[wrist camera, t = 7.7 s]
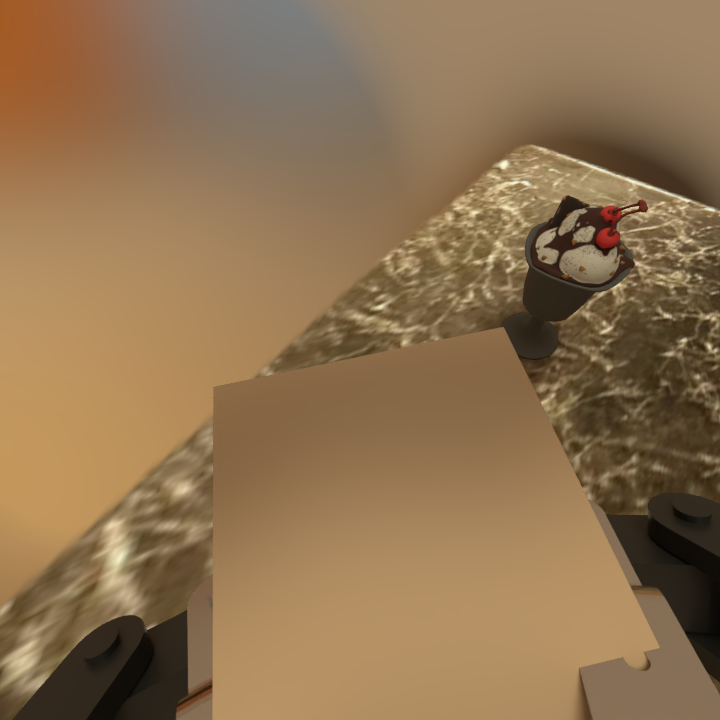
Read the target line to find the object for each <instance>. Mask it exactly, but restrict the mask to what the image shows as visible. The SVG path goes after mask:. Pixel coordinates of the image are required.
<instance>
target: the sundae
mask: <svg viewBox="0 0 720 720" xmlns="http://www.w3.org/2000/svg"><path fill="white" fill-rule="evenodd" d="M634 206H639V209H638V210H634V211H630V212H627V213H625V214H623V215H622V212H621V210H624V209H626V208H630V207H634ZM647 210H648V207H647V204H646V202H645V201H643V200H639V202H638V203H637V204H633V205H629V206H626V207H623V208H617V207H614V206H607V207H605V208H604V207H603V206H598V207H595V206H592V207H590V205H589V204H586V203H584V202H582V201H580V200H579V199H576V198H573V197H571V196H568V195H567V196H565V197H564V198H563V200H562V202H561V203H560V205H559V207H558V209H557V211H556V213H555V215H554V217H553V218H551V219H549V221H548V222H544V223H541V224H539V225H537V226H535V227H534V228H533V229H532V230H531V231H530V233H529V235H528V237H527V239H526V245H525V256H526V260H527V263H528V265H529V269H528V273H527V276H526V280H525V284H524V292H523V304H524V306H525V308H526V309H527V310H528V312H529V313H518V314H514V315H512V316H510V317H508V318H507V319H506V320H505V321H504V322H503V324H502V326H501V327H504V329H505V331H506V333H507V335H508V337H509V339H510V341H511V343H512V345H513V347H514V349H515V351H516V353H517V355H518V356H521V357H524V358H529V359H540V358H544V357H547V356H549V355H550V354H552V353H553V352H554V351H555V349H556V347H557V345H558V335H557V332H556V330H555V328H554V327H553V325H552V324H551V323H550V322H548V321H552V322H557V321H561V320H565V319H567V318H568V317H569V316H571V315H572V314H573V313H574V312H576V311H577V310H578V309H579V308H580V307H581V306H583V305H584V303H585V302H586V301H587V300H588V299H589V298H590V297H591V296H592V295H593V294H594V293H595V292H601V291H606V290H608V289H610V288H612V287H614V286H616V285H617V284H618V283H619V282H621V281H622V280H623V279H624V278H625V277H626V276H627V275H628V274H629V272H630V270H631V269H632V268H633V267H634V265H635V264H634V261H633V257H632V254H631V253H630V251H629V249H628V248H627V247H626V246H625V245H624V244H623V243H622V241H621V240H620V227H619V223H618V222H619V221H620V220H621V219H622V218H623V217H624V216H626V215H628V214H632V213H635V212H646V211H647ZM530 313H531V314H530Z"/></svg>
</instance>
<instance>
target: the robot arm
mask: <svg viewBox="0 0 720 720" xmlns="http://www.w3.org/2000/svg"><path fill="white" fill-rule="evenodd" d="M588 501H589V503H590V505H591V507H592V509H593V511H594V513H595V515H596V517H597V519H598V521H599V523H600V525H601V527H602V530H603V532H604V534H605V536H606V538H607V540H608V542H609V544H610V546H611V548H612V550H613V552H614V554H615V556H616V558H617V560H618V562H619V564H620V566H621V568H622V571H623V573H624V575H625V577H626V579H627V581H628V583H629V585H630V587H631V589H632V591H633V593H634V595H635V597H636V599H637V601H638V603H639V605H640V607H641V609H642V612H643V614H644V616H645V618H646V620H647V622H648V624H649V626H650V628H651V630H652V632H653V634H654V636H655V638H656V640H657V642H658V644H659V646H660V648H658V649H653V650H649V651H645V652H643V653H644V654H645V656H646V658H647V660H648V662H649V666H650V668H649V669H648V670H646V671H639V670H636V669H634V668H632V667H631V666H629V665H628V664H627V663H626V661H625V660H624V658H623V657H621V658H617V659H613V660H609V661H605V662H601V663H596V664H592V665H588V666H584V667H580V668H579V670H580V675H581V680H582V686H583V691H584V697H585V702H586V708H587V713H588V719H589V720H720V695H719V693H718V691H717V690H716V688H715V686H714V684H713V682H712V681H711V679H710V677H709V675H708V674H707V672H708V673H709V674H710V675H712V676H713V677H714V678H715V679H716V680H718V681H719V682H720V504H719V503H716V502H714V501H711V500H709V499H706V498H703V497H700V496H695V495H691V494H684V493H665V494H660V495H657V496H655V497H653V498H652V499H651V500H650V501H649V503H648V515H609V514H605V513H604V511H603V510H602V509H601V508H600V507H599V506H598V505H597V504H595V503H594V502H592V501H590V500H588ZM706 671H707V672H706ZM212 702H213V575H211V576H210V577H208V578H207V579H206V580H205V581H203V582H202V583H201V584H200V585H199V586H198V588H197V589H196V590H195V591H194V593H193V594H192V596H191V598H190V600H189V603H188V608H187V610H186V611H184V612H183V613H181V614H179V615H177V616H175V617H173V618H171V619H169V620H167V621H165V622H163V623H161V624H159V625H157V626H155V627H153V628H151V629H149V630H147V629H146V627H145V625H144V622H143V621H142V619H141V618H139V617H137V616H133V615H128V616H122V617H118V618H116V619H113V620H111V621H109V622H107V623H105V624H103V625H101V626H100V627H98V628H97V629H95V630H94V631H92V632H91V633H90V634H88V635H87V636H86V637H85V638H84V639H83V640H82V641H80V642H79V643H78V644H77V645H76V647H75V648H74V649H73V650H72V651H71V652H70V653H69V654H68V656H67V657H66V658H65V659H64V660H63V661H62V663H61V664H60V665H59V666H58V667H57V668H56V670H55V671H54V672H53V673H52V674H51V675H50V677H49V678H48V679H47V680H46V681H45V682H44V684H43V685H42V686H41V687H40V688H39V689H38V690H37V692H36V693H35V694H34V695H33V696H32V697H31V699H30V700H29V701H28V702H27V703H26V704H25V706H24V707H23V708H22V709H21V710H20V711H19V713H18V714H17V715H16V716H15V717H14V718H13V720H212Z"/></svg>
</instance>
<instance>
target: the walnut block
mask: <svg viewBox="0 0 720 720" xmlns="http://www.w3.org/2000/svg"><path fill="white" fill-rule="evenodd" d="M658 648H660V646H659V644H658V642H657V640H656V638H655V636H654V634H653V632H652V630H651V628H650V626H649V624H648V622H647V620H646V618H645V616H644V614H643V612H642V609H641V607H640V605H639V603H638V601H637V599H636V597H635V595H634V593H633V591H632V589H631V587H630V585H629V583H628V581H627V579H626V577H625V575H624V573H623V571H622V568H621V566H620V564H619V562H618V560H617V558H616V556H615V554H614V552H613V550H612V548H611V546H610V544H609V542H608V540H607V538H606V536H605V534H604V532H603V530H602V527H601V525H600V523H599V521H598V519H597V517H596V515H595V513H594V511H593V509H592V507H591V505H590V503H589V501H588V499H587V497H586V495H585V493H584V491H583V489H582V486H581V484H580V482H579V480H578V478H577V476H576V474H575V472H574V470H573V468H572V466H571V464H570V462H569V460H568V458H567V456H566V454H565V452H564V450H563V448H562V445H561V443H560V441H559V439H558V437H557V435H556V433H555V431H554V429H553V427H552V425H551V423H550V421H549V419H548V417H547V415H546V413H545V411H544V409H543V407H542V404H541V402H540V400H539V398H538V396H537V394H536V392H535V390H534V388H533V386H532V384H531V382H530V380H529V378H528V376H527V374H526V372H525V370H524V368H523V366H522V363H521V361H520V359H519V357H518V355H517V353H516V351H515V349H514V347H513V345H512V343H511V341H510V339H509V337H508V335H507V333H506V331H505V329H504V327H500V328H496V329H491V330H486V331H481V332H476V333H472V334H467V335H462V336H457V337H452V338H447V339H443V340H438V341H433V342H428V343H423V344H419V345H414V346H409V347H404V348H399V349H394V350H390V351H385V352H380V353H375V354H370V355H366V356H361V357H356V358H351V359H346V360H341V361H337V362H332V363H327V364H322V365H317V366H313V367H308V368H303V369H298V370H293V371H288V372H284V373H279V374H274V375H269V376H264V377H260V378H255V379H250V380H245V381H240V382H235V383H231V384H226V385H221V386H216V387H214V416H213V702H212V720H589V719H588V713H587V708H586V702H585V697H584V691H583V686H582V680H581V675H580V670H579V668H580V667H584V666H588V665H592V664H596V663H601V662H605V661H609V660H613V659H617V658H621V657H623V658H624V660H625V661H626V663H627V664H628V665H629V666H631V667H632V668H634V669H636V670H639V671H646V670H648V669H649V668H650V666H649V662H648V660H647V658H646V656H645V654H644V653H643V652H645V651H649V650H653V649H658Z"/></svg>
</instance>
